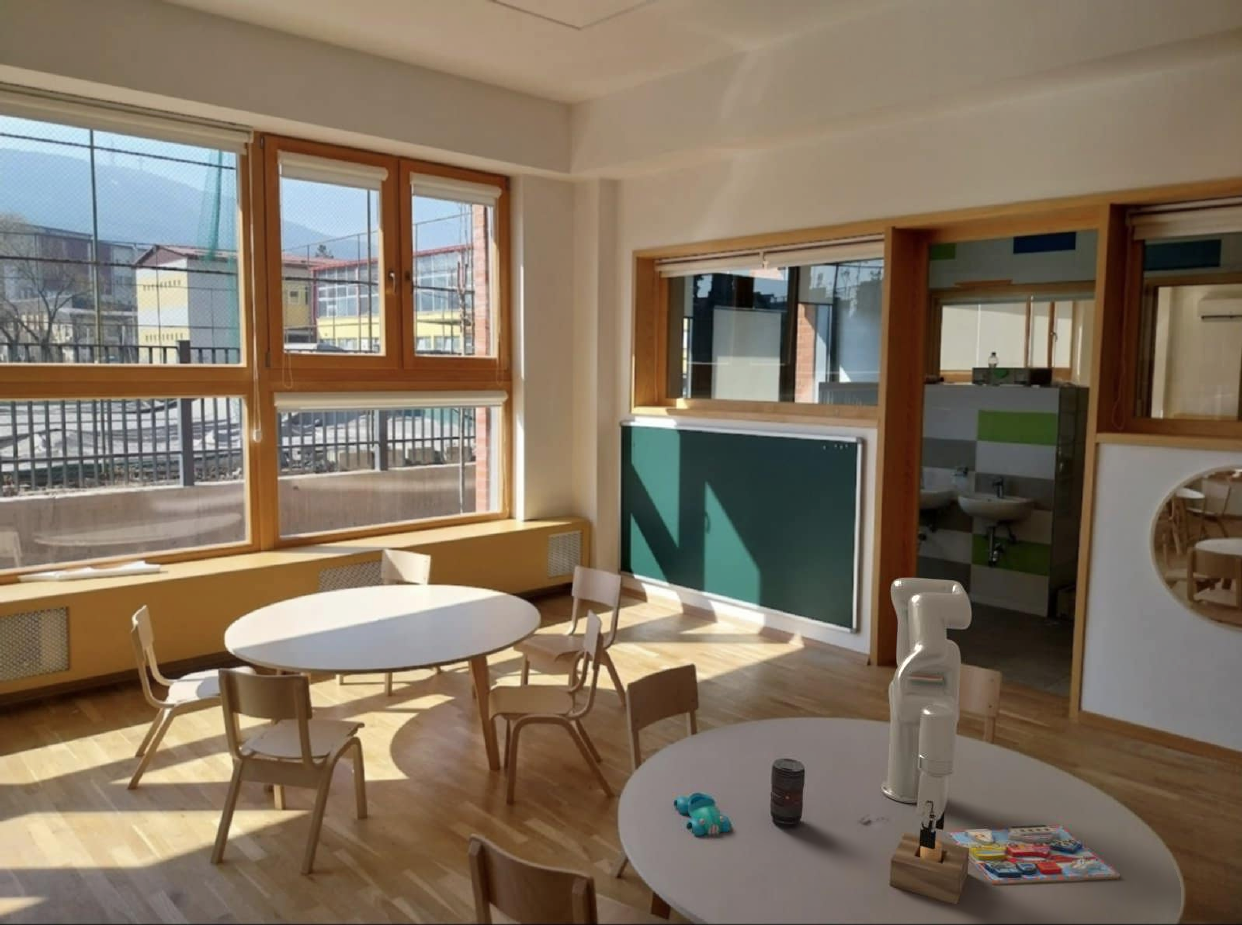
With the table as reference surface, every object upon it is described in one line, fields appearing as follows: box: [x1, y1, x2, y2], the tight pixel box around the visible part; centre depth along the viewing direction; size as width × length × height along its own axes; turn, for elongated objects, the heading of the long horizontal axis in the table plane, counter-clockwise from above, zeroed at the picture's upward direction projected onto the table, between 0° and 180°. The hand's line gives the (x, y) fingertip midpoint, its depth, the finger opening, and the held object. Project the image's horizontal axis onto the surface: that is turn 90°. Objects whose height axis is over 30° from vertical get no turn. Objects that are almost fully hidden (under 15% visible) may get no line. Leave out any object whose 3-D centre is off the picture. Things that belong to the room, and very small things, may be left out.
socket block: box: [889, 831, 970, 905], centre depth 205 cm, size 14×14×6 cm
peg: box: [920, 841, 942, 863], centre depth 205 cm, size 4×4×8 cm
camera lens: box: [769, 757, 806, 829], centre depth 229 cm, size 8×8×15 cm
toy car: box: [673, 792, 732, 837], centre depth 232 cm, size 11×18×7 cm, turn 15°
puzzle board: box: [945, 824, 1121, 885], centre depth 217 cm, size 30×23×3 cm
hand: (931, 837), depth 204 cm, fingers open, 9 cm apart
